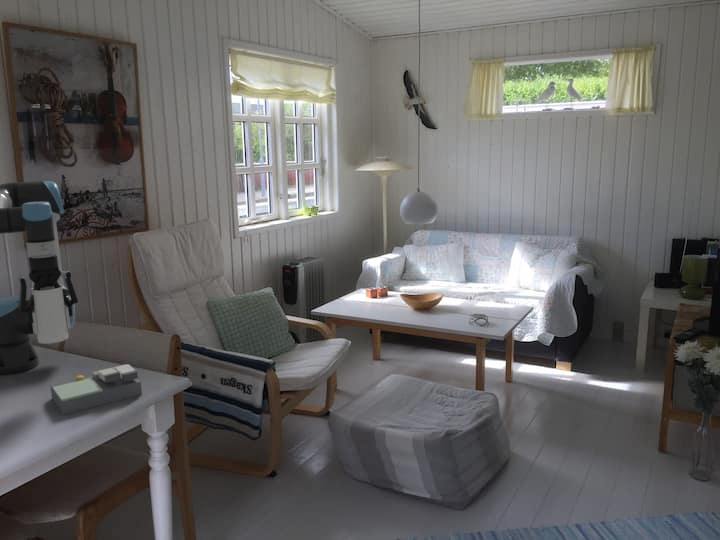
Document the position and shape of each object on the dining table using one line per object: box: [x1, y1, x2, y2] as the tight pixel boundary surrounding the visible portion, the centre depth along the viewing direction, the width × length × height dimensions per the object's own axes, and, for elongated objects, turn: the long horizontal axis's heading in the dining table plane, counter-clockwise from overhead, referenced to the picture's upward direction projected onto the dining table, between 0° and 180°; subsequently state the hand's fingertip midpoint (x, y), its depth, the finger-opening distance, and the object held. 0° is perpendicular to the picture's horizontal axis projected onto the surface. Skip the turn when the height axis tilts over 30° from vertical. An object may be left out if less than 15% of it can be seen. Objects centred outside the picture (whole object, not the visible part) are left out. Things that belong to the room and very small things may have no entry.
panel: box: [50, 363, 143, 415], centre depth 188 cm, size 14×22×7 cm, turn 128°
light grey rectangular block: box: [97, 367, 121, 383], centre depth 188 cm, size 2×4×8 cm
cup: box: [30, 284, 69, 345], centre depth 187 cm, size 8×8×16 cm
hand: (52, 330), depth 189 cm, fingers closed on cup, 8 cm apart
